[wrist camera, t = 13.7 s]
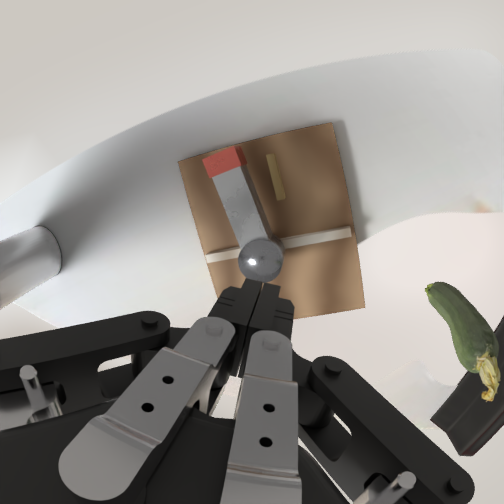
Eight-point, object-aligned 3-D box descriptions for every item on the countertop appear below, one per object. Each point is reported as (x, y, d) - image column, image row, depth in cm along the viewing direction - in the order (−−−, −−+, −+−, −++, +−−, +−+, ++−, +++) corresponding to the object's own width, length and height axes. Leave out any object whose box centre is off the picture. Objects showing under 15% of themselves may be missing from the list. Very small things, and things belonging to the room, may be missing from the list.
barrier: (461, 424, 42) (474, 463, 33) (428, 418, 43) (440, 462, 33) (538, 319, 33) (568, 352, 24) (509, 304, 34) (542, 340, 25)
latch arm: (291, 264, 35) (288, 276, 31) (253, 275, 36) (247, 287, 33) (245, 144, 31) (237, 143, 28) (207, 160, 33) (196, 161, 29)
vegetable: (445, 266, 34) (524, 359, 16) (455, 293, 35) (525, 391, 17) (416, 283, 36) (478, 389, 17) (427, 309, 37) (483, 418, 18)
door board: (229, 322, 43) (222, 336, 39) (181, 161, 37) (169, 162, 34) (364, 303, 38) (367, 316, 35) (331, 123, 32) (332, 120, 29)
